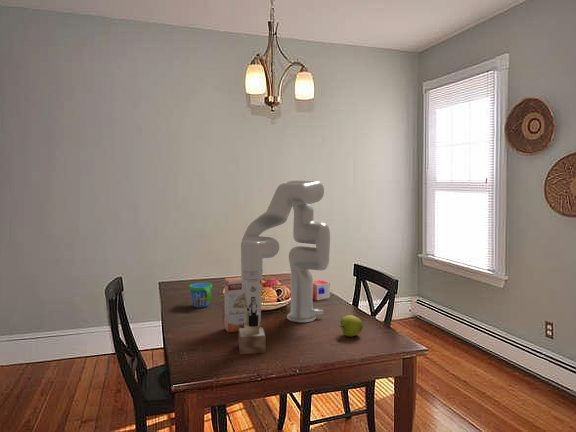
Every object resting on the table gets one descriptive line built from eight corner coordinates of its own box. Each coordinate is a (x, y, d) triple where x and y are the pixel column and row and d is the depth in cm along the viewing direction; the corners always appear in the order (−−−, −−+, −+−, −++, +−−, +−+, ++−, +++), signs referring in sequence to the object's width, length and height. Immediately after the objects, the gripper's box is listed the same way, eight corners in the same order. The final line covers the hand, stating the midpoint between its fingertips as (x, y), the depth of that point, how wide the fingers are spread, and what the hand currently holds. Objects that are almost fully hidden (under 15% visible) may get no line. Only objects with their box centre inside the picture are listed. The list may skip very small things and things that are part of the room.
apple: (335, 334, 180) (335, 314, 180) (355, 331, 184) (355, 311, 183) (345, 340, 173) (345, 320, 173) (365, 337, 177) (366, 317, 176)
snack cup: (184, 303, 221) (183, 283, 220) (204, 300, 227) (204, 280, 226) (197, 311, 208) (197, 290, 208) (218, 308, 214) (218, 286, 214)
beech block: (258, 329, 167) (258, 310, 166) (259, 333, 162) (259, 314, 162) (244, 329, 166) (244, 310, 166) (245, 334, 161) (245, 315, 161)
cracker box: (228, 333, 181) (227, 281, 179) (224, 328, 186) (223, 277, 184) (261, 328, 186) (261, 278, 184) (256, 324, 192) (256, 275, 190)
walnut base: (263, 343, 170) (263, 327, 169) (265, 352, 161) (265, 335, 160) (238, 344, 168) (238, 328, 168) (239, 354, 160) (239, 336, 159)
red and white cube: (320, 294, 240) (320, 279, 239) (329, 298, 233) (329, 282, 233) (307, 296, 236) (308, 281, 235) (316, 300, 229) (316, 284, 228)
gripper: (264, 280, 155) (265, 329, 156) (260, 269, 172) (260, 313, 173) (242, 281, 153) (243, 330, 155) (240, 269, 170) (240, 314, 172)
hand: (252, 321), depth 164 cm, fingers open, 9 cm apart
